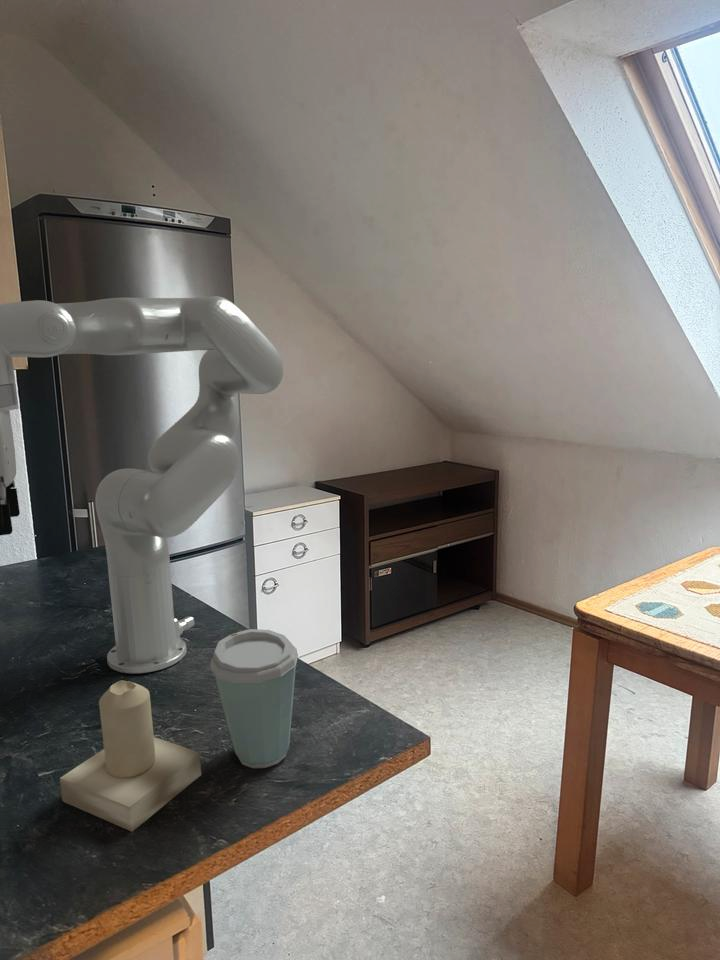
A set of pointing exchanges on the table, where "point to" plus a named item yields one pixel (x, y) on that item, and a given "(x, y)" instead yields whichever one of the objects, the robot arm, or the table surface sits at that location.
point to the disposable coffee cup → (257, 693)
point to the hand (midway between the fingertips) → (3, 525)
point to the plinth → (131, 785)
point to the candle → (127, 729)
